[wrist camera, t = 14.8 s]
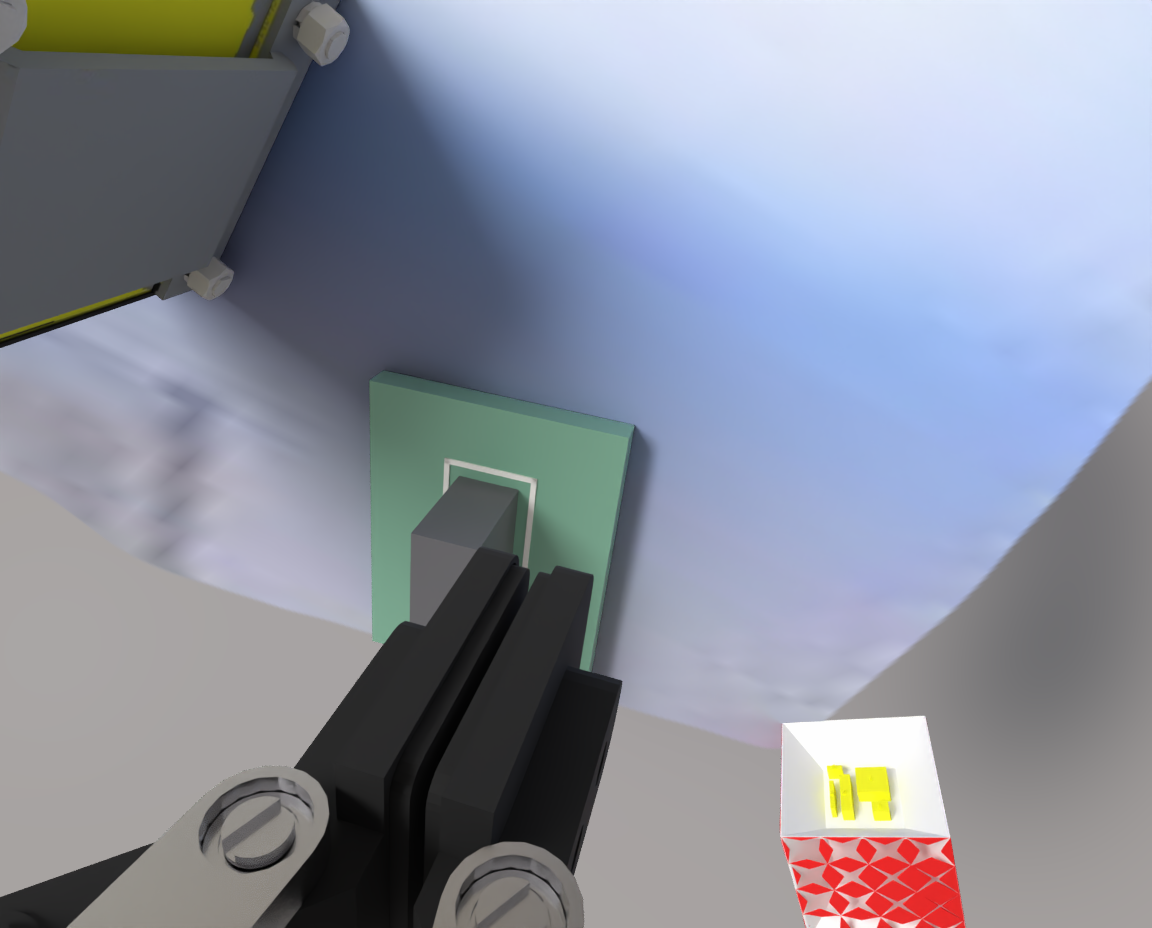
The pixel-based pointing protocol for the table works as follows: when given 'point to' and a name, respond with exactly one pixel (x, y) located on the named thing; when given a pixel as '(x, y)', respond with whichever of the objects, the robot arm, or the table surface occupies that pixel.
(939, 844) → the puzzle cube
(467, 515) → the block
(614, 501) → the header board
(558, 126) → the table surface
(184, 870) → the robot arm
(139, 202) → the electrical component
